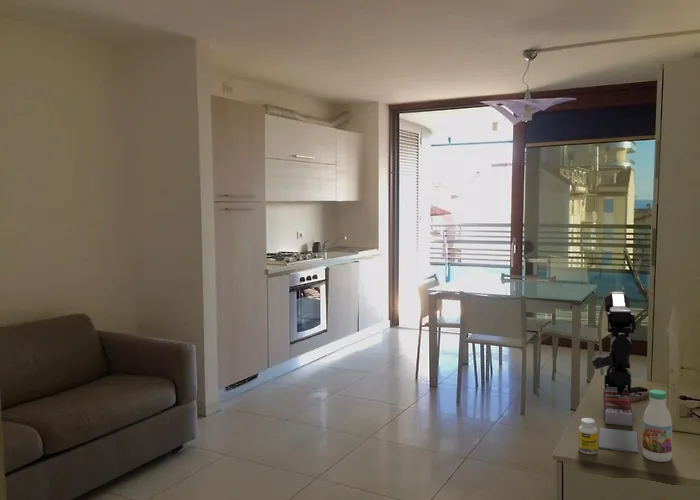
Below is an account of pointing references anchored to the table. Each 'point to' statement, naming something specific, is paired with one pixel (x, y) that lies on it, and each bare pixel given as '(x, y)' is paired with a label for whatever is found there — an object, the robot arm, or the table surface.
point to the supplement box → (617, 407)
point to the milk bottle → (657, 428)
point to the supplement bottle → (588, 436)
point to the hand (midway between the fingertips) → (619, 394)
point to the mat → (618, 440)
